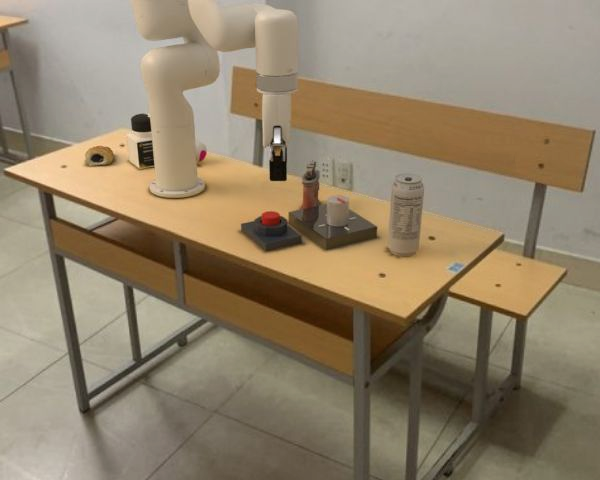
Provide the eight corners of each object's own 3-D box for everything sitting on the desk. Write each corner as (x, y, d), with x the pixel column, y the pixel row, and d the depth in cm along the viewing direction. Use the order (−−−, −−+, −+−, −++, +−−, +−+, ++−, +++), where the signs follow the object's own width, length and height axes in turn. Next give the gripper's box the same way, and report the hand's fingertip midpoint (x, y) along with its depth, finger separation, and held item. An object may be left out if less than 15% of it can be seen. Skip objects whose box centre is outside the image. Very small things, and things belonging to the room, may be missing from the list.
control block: (241, 231, 158) (240, 215, 156) (275, 223, 162) (275, 208, 160) (265, 251, 150) (265, 235, 148) (301, 243, 153) (301, 227, 152)
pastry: (91, 154, 199) (89, 139, 197) (117, 154, 200) (116, 139, 198) (84, 166, 191) (82, 151, 189) (112, 166, 192) (110, 151, 190)
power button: (258, 221, 155) (258, 213, 154) (274, 217, 156) (274, 209, 156) (266, 227, 152) (266, 219, 151) (283, 224, 154) (283, 216, 153)
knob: (322, 220, 157) (322, 196, 154) (340, 216, 159) (341, 192, 156) (333, 228, 154) (334, 203, 151) (352, 224, 155) (353, 199, 153)
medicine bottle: (139, 169, 190) (134, 121, 184) (128, 161, 195) (123, 114, 189) (166, 164, 193) (162, 117, 187) (155, 156, 198) (151, 109, 192)
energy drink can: (419, 246, 153) (426, 173, 145) (417, 259, 147) (423, 185, 140) (389, 242, 154) (394, 171, 146) (385, 256, 149) (390, 182, 141)
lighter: (314, 216, 165) (315, 171, 160) (299, 214, 166) (299, 170, 161) (321, 202, 172) (322, 158, 167) (306, 200, 173) (306, 157, 168)
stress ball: (184, 180, 193) (189, 163, 187) (170, 155, 195) (175, 138, 189) (211, 173, 196) (216, 156, 191) (197, 148, 199) (202, 131, 193)
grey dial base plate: (288, 223, 162) (288, 211, 161) (337, 212, 167) (337, 200, 166) (325, 250, 151) (326, 237, 149) (376, 237, 156) (377, 225, 155)
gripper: (258, 71, 149) (260, 157, 157) (254, 94, 134) (257, 188, 142) (297, 71, 149) (297, 157, 157) (298, 93, 134) (298, 187, 142)
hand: (278, 171), depth 150 cm, fingers open, 9 cm apart
